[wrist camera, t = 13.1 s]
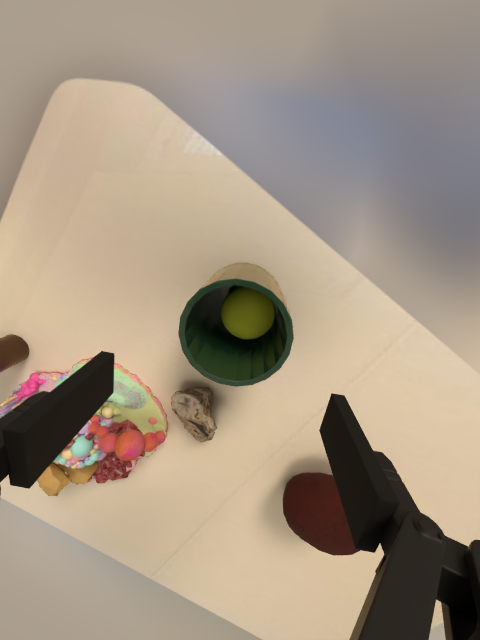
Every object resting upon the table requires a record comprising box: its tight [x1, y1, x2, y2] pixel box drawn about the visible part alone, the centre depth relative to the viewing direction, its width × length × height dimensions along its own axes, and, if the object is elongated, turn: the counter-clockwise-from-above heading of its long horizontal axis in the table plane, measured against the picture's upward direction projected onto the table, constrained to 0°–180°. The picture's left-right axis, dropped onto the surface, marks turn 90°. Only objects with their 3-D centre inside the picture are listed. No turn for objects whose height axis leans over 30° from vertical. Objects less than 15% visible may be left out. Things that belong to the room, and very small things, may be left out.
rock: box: [171, 388, 217, 442], centre depth 41 cm, size 9×7×10 cm
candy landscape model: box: [0, 358, 168, 496], centre depth 42 cm, size 25×24×9 cm
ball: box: [221, 286, 275, 339], centre depth 34 cm, size 7×7×7 cm
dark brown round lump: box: [283, 473, 360, 555], centre depth 42 cm, size 11×13×10 cm
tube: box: [179, 263, 294, 386], centre depth 32 cm, size 11×11×13 cm
